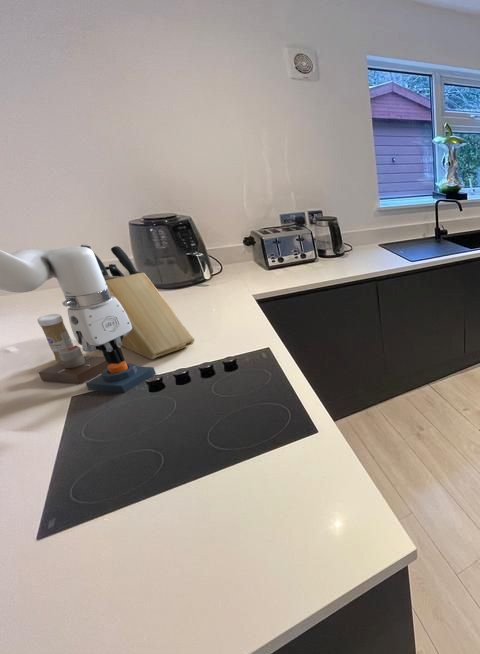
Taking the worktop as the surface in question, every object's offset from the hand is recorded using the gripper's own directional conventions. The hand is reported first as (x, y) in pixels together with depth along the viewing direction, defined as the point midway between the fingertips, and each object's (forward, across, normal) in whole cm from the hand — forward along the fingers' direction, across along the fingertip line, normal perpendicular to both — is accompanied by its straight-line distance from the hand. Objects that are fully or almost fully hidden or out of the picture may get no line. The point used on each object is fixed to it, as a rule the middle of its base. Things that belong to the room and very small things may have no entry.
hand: (116, 362), depth 105 cm
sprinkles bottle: (+6, +9, +27) cm, 29 cm away
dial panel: (+6, +2, +15) cm, 16 cm away
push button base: (+6, 0, 0) cm, 6 cm away
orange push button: (+3, 0, 0) cm, 3 cm away
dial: (+3, +2, +15) cm, 16 cm away
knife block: (+6, +21, +14) cm, 26 cm away
